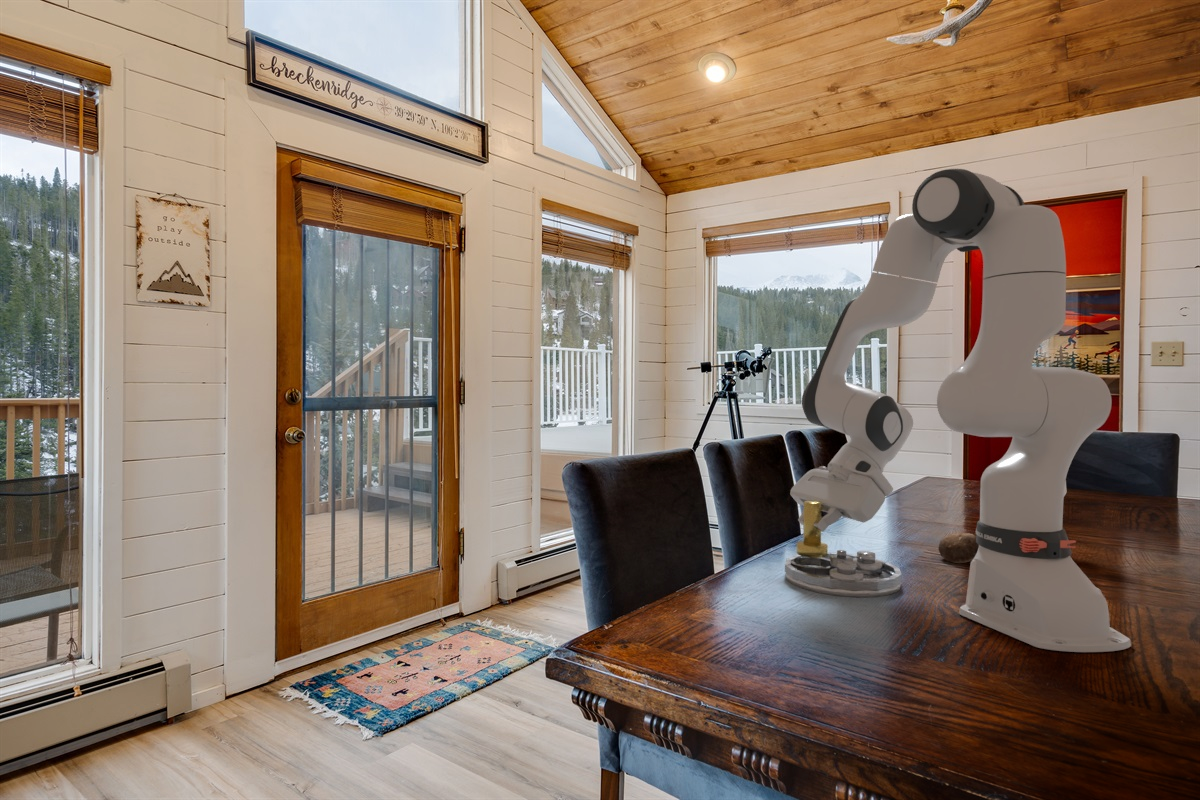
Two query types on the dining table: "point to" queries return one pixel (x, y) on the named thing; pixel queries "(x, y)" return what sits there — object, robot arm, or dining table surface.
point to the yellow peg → (811, 533)
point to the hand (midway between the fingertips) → (809, 526)
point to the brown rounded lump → (958, 547)
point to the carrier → (844, 574)
